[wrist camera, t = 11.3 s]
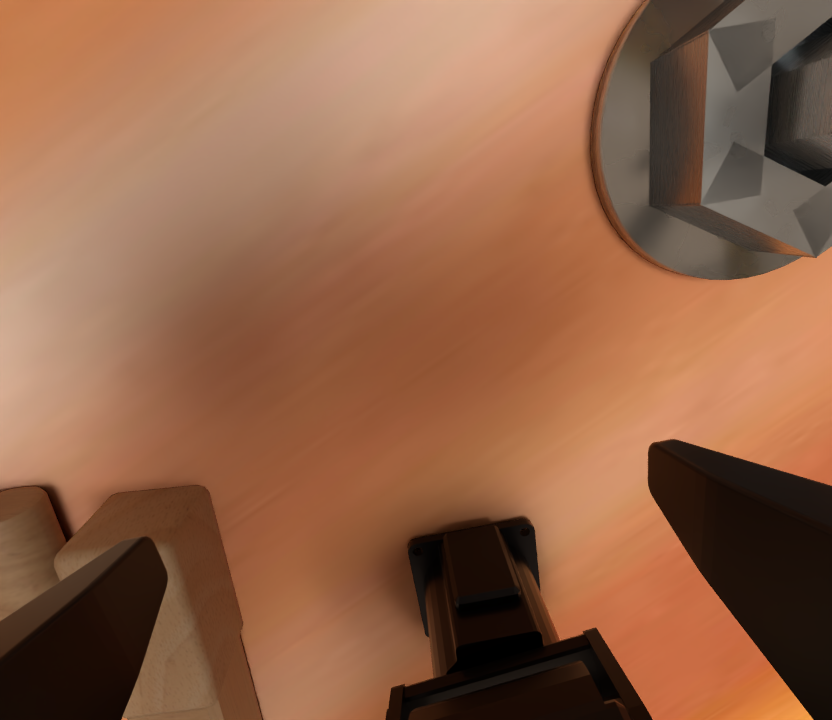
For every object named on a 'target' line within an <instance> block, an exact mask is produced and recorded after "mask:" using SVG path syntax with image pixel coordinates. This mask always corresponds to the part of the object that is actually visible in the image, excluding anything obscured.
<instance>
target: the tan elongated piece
mask: <svg viewBox="0 0 832 720" xmlns="http://www.w3.org/2000/svg"><path fill="white" fill-rule="evenodd" d="M764 156H765V157H767V158H769V159H771V160H773V161H775V162H777V163H779V164H781V165H783V166H785V167H787V168H789V169H791V170H793V171H804V170H815V169H825V168H832V33H829V34H827V35H824V36H822V37H819V38H817V39H814V40H812V41H809V42H807V43H804V44H802V45H799V46H797V47H794V48H792V49H791V50H790V51H788V52H787V53H786V54H785V55H783V56H782V57H781V58H780V59H778V60H777V61H776V62H775V63H773V64H772V69H771V81H770V92H769V104H768V115H767V127H766V138H765V150H764Z"/></svg>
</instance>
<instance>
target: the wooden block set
mask: <svg viewBox="0 0 832 720" xmlns="http://www.w3.org/2000/svg"><path fill="white" fill-rule="evenodd" d="M140 536H148V537H150V538H152V539H153V541H154V543H155V545H156V547H157V549H158V552H159V554H160V556H161V558H162V561H163V563H164V565H165V567H166V570H167V574H168V583H167V588H166V591H165V594H164V597H163V601H162V604H161V607H160V610H159V614H158V617H157V620H156V623H155V626H154V630H153V633H152V636H151V639H150V642H149V646H148V649H147V652H146V655H145V659H144V662H143V665H142V667H141V670H140V673H139V676H138V679H137V682H136V684H135V687H134V689H133V692H132V695H131V697H130V699H129V702H128V704H127V707H126V709H125V712H124V714H123V716H122V717H124V718H127V719H128V720H262V717H261V714H260V710H259V706H258V702H257V699H256V695H255V691H254V687H253V684H252V680H251V676H250V672H249V669H248V665H247V661H246V657H245V654H244V650H243V646H242V642H241V639H240V632H241V629H242V626H243V621H242V617H241V613H240V609H239V605H238V601H237V597H236V594H235V590H234V586H233V582H232V578H231V574H230V570H229V567H228V563H227V559H226V555H225V551H224V547H223V544H222V540H221V536H220V532H219V528H218V524H217V520H216V517H215V513H214V509H213V505H212V501H211V497H210V493H209V491H208V490H207V489H206V488H205V487H204V486H199V485H193V486H182V487H172V488H162V489H152V490H142V491H132V492H122V493H116V494H114V495H112V496H111V497H110V498H109V499H108V500H107V501H106V502H105V503H104V504H103V505H102V506H101V507H100V508H99V509H98V510H97V511H96V512H95V514H94V515H93V516H92V517H91V518H90V519H89V520H88V521H87V522H86V523H85V524H84V525H83V526H82V527H81V528H80V529H79V531H78V532H77V533H76V534H75V535H74V536H73V537H72V538H71V539H70V540H69V541H68V542H66V540H65V537H64V535H63V532H62V530H61V527H60V525H59V522H58V520H57V517H56V515H55V512H54V510H53V507H52V505H51V502H50V500H49V497H48V495H47V493H46V492H45V491H44V490H43V489H41V488H39V487H35V486H28V487H19V488H13V489H9V490H5V491H2V492H0V621H1V620H2V619H4V618H5V617H7V616H9V615H10V614H12V613H13V612H15V611H16V610H18V609H19V608H21V607H22V606H24V605H25V604H27V603H28V602H30V601H31V600H33V599H34V598H36V597H37V596H39V595H40V594H42V593H43V592H45V591H46V590H48V589H49V588H51V587H52V586H54V585H55V584H57V583H58V582H60V581H61V580H63V579H64V578H66V577H67V576H69V575H70V574H72V573H74V572H75V571H77V570H78V569H80V568H81V567H83V566H84V565H86V564H87V563H89V562H90V561H92V560H93V559H95V558H96V557H98V556H99V555H101V554H102V553H104V552H105V551H107V550H108V549H110V548H111V547H113V546H114V545H116V544H117V543H119V542H120V541H122V540H125V539H129V538H135V537H140Z"/></svg>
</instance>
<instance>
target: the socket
mask: <svg viewBox="0 0 832 720" xmlns="http://www.w3.org/2000/svg"><path fill="white" fill-rule="evenodd" d="M829 33H832V0H645V1H644V3H643V4H642V5H641V6H640V8H639V9H638V10H637V11H636V13H635V14H634V15H633V17H632V18H631V20H630V21H629V23H628V25H627V26H626V28H625V29H624V31H623V32H622V34H621V35H620V37H619V39H618V41H617V43H616V45H615V47H614V49H613V51H612V53H611V55H610V57H609V60H608V62H607V65H606V68H605V70H604V73H603V76H602V78H601V81H600V85H599V89H598V92H597V96H596V100H595V104H594V111H593V118H592V125H591V160H592V171H593V175H594V180H595V185H596V189H597V192H598V195H599V198H600V201H601V203H602V206H603V209H604V211H605V213H606V214H607V216H608V218H609V220H610V222H611V224H612V225H613V227H614V228H615V230H616V231H617V232H618V234H619V235H620V236H621V238H622V239H623V240H624V241H625V242H626V243H627V244H628V245H629V246H630V247H631V248H632V249H633V250H634V251H635V252H637V253H638V254H639V255H641V256H642V257H643V258H645V259H646V260H648V261H649V262H651V263H653V264H655V265H657V266H659V267H661V268H663V269H666V270H669V271H672V272H675V273H679V274H683V275H688V276H693V277H699V278H705V279H711V280H732V279H741V278H748V277H752V276H756V275H760V274H764V273H767V272H770V271H773V270H775V269H778V268H781V267H783V266H785V265H787V264H789V263H791V262H793V261H795V260H797V259H799V258H801V257H802V256H803V257H813V258H817V256H819V255H820V254H821V253H823V252H824V251H826V250H827V249H828V248H830V247H831V246H832V168H825V169H815V170H804V171H793V170H791V169H789V168H787V167H785V166H783V165H781V164H779V163H777V162H775V161H773V160H771V159H769V158H767V157H765V156H764V150H765V138H766V127H767V115H768V104H769V92H770V81H771V69H772V64H773V63H775V62H776V61H777V60H778V59H780V58H781V57H782V56H783V55H785V54H786V53H787V52H788V51H790V50H791V49H792V48H794V47H797V46H799V45H802V44H804V43H807V42H809V41H812V40H814V39H817V38H819V37H822V36H824V35H827V34H829Z"/></svg>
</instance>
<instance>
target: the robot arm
mask: <svg viewBox="0 0 832 720" xmlns="http://www.w3.org/2000/svg"><path fill="white" fill-rule="evenodd" d="M648 486H649V489H650V492H651V494H652V496H653V498H654V500H655V501H656V503H657V504H658V506H659V508H660V509H661V511H662V512H663V514H664V516H665V517H666V519H667V520H668V522H669V524H670V525H671V527H672V528H673V530H674V532H675V533H676V535H677V536H678V538H679V540H680V541H681V543H682V544H683V546H684V548H685V549H686V551H687V552H688V554H689V556H690V557H691V559H692V560H693V562H694V563H695V565H696V566H697V568H698V569H699V571H700V572H701V574H702V575H703V576H704V578H705V579H706V580H707V582H708V583H709V584H710V586H711V587H712V588H713V590H714V591H715V592H716V594H717V595H718V596H719V597H720V599H721V600H722V601H723V603H724V604H725V605H726V607H727V608H728V609H729V610H730V612H731V613H732V614H733V616H734V617H735V618H736V620H737V621H738V622H739V623H740V625H741V626H742V627H743V629H744V630H745V631H746V632H747V634H748V635H749V636H750V638H751V639H752V640H753V642H754V643H755V644H756V645H757V647H758V648H759V649H760V651H761V652H762V653H763V655H764V656H765V657H766V658H767V660H768V661H769V662H770V664H771V665H772V666H773V668H774V669H775V670H776V671H777V673H778V674H779V675H780V677H781V678H782V679H783V680H784V682H785V683H786V684H787V686H788V687H789V688H790V690H791V691H792V692H793V693H794V695H795V696H796V697H797V699H798V700H799V701H800V703H801V704H802V705H803V706H804V708H805V709H806V710H807V712H808V713H809V714H810V716H811V717H812V718H813V719H814V720H832V486H830V485H827V484H824V483H820V482H817V481H813V480H810V479H807V478H803V477H800V476H797V475H793V474H790V473H787V472H783V471H780V470H777V469H773V468H770V467H766V466H763V465H760V464H756V463H753V462H750V461H746V460H743V459H740V458H736V457H733V456H730V455H726V454H723V453H719V452H716V451H713V450H709V449H706V448H703V447H699V446H696V445H693V444H689V443H686V442H683V441H679V440H675V439H670V440H665V441H660V442H654V443H652V444H651V445H650V447H649V450H648ZM523 528H527V529H526V530H524V531H521V530H522V529H523ZM415 548H421V549H420V550H415ZM408 555H409V559H410V564H411V569H412V573H413V578H414V583H415V588H416V592H417V597H418V602H419V606H420V611H421V616H422V621H423V625H424V630H425V634H426V636H427V637H429V639H430V649H431V658H432V667H433V676H434V678H432V679H429V680H426V681H422V682H419V683H415V684H412V685H409V686H405V684H403V685H399V686H396V687H393V688H391V693H390V701H389V709H387V713H386V720H653V719H652V718H651V716H650V714H649V712H648V711H647V709H646V707H645V705H644V704H643V702H642V701H641V699H640V697H639V696H638V694H637V693H636V691H635V689H634V688H633V686H632V684H631V683H630V681H629V680H628V678H627V676H626V675H625V673H624V672H623V670H622V668H621V667H620V665H619V664H618V662H617V660H616V659H615V657H614V656H613V654H612V652H611V651H610V649H609V648H608V646H607V644H606V643H605V641H604V640H603V638H602V636H601V635H600V633H599V632H598V630H597V628H592V629H589V630H585V631H583V634H581V635H578V636H575V637H571V638H568V639H564V640H561V641H560V640H559V637H558V635H557V632H556V630H555V627H554V625H553V622H552V620H551V618H550V615H549V613H548V610H547V608H546V605H545V603H544V601H543V598H542V596H541V593H540V583H539V572H538V561H537V550H536V540H535V530H534V527H533V525H532V523H531V522H530V521H529V520H527V519H518V520H513V521H508V522H502V523H497V524H491V525H486V526H480V527H475V528H469V529H464V530H459V531H453V532H448V533H442V534H437V535H431V536H426V537H421V538H415V539H413V540H411V541H410V542H409V544H408ZM167 583H168V574H167V570H166V567H165V565H164V563H163V561H162V558H161V556H160V554H159V552H158V549H157V547H156V545H155V543H154V541H153V539H152V538H150V537H148V536H140V537H135V538H129V539H125V540H122V541H120V542H119V543H117V544H116V545H114V546H113V547H111V548H110V549H108V550H107V551H105V552H104V553H102V554H101V555H99V556H98V557H96V558H95V559H93V560H92V561H90V562H89V563H87V564H86V565H84V566H83V567H81V568H80V569H78V570H77V571H75V572H74V573H72V574H70V575H69V576H67V577H66V578H64V579H63V580H61V581H60V582H58V583H57V584H55V585H54V586H52V587H51V588H49V589H48V590H46V591H45V592H43V593H42V594H40V595H39V596H37V597H36V598H34V599H33V600H31V601H30V602H28V603H27V604H25V605H24V606H22V607H21V608H19V609H18V610H16V611H15V612H13V613H12V614H10V615H9V616H7V617H5V618H4V619H2V620H1V621H0V720H121V719H122V716H123V714H124V712H125V709H126V707H127V704H128V702H129V699H130V697H131V695H132V692H133V689H134V687H135V684H136V682H137V679H138V676H139V673H140V670H141V667H142V665H143V662H144V659H145V655H146V652H147V649H148V646H149V642H150V639H151V636H152V633H153V630H154V626H155V623H156V620H157V617H158V614H159V610H160V607H161V604H162V601H163V597H164V594H165V591H166V588H167Z"/></svg>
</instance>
